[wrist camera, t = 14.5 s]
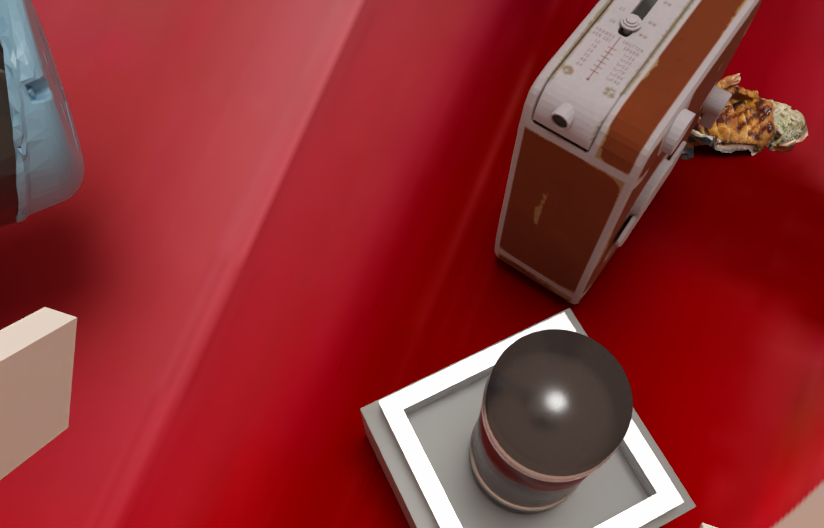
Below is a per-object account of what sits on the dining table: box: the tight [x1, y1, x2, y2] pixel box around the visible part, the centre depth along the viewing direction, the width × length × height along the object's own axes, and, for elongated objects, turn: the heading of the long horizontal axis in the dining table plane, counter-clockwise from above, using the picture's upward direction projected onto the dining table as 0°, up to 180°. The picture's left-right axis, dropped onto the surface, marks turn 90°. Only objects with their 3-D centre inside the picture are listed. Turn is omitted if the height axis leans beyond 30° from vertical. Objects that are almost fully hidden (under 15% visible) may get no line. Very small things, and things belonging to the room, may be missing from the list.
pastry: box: [679, 73, 808, 160], centre depth 59 cm, size 7×12×4 cm, turn 93°
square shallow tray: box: [360, 308, 696, 528], centre depth 46 cm, size 14×13×6 cm
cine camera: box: [495, 0, 762, 304], centre depth 48 cm, size 9×19×20 cm, turn 144°
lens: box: [470, 329, 633, 514], centre depth 38 cm, size 6×6×12 cm
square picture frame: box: [379, 312, 684, 528], centre depth 42 cm, size 12×12×2 cm
